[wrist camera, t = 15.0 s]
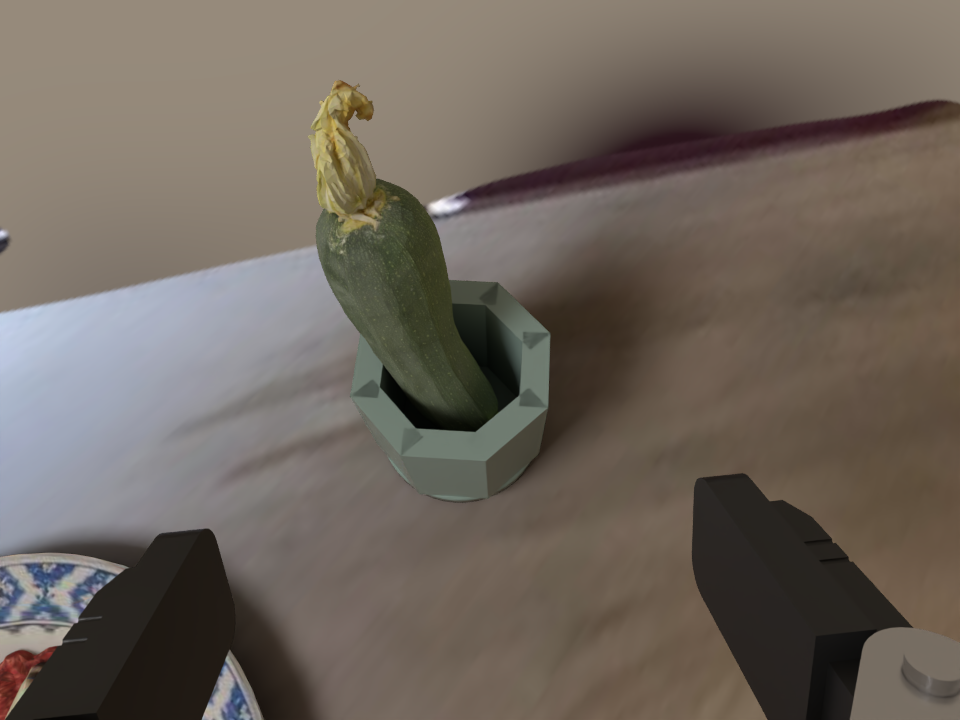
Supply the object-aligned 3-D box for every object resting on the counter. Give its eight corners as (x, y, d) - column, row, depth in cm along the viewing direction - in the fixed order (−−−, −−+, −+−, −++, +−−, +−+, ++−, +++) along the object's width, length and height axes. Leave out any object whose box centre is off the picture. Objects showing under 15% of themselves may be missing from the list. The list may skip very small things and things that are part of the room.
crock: (470, 324, 38) (463, 246, 31) (573, 430, 36) (593, 371, 28) (350, 417, 36) (313, 356, 29) (451, 537, 33) (438, 504, 26)
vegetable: (431, 465, 34) (210, 167, 18) (432, 393, 36) (237, 70, 20) (516, 454, 33) (366, 130, 17) (511, 381, 35) (375, 35, 19)
